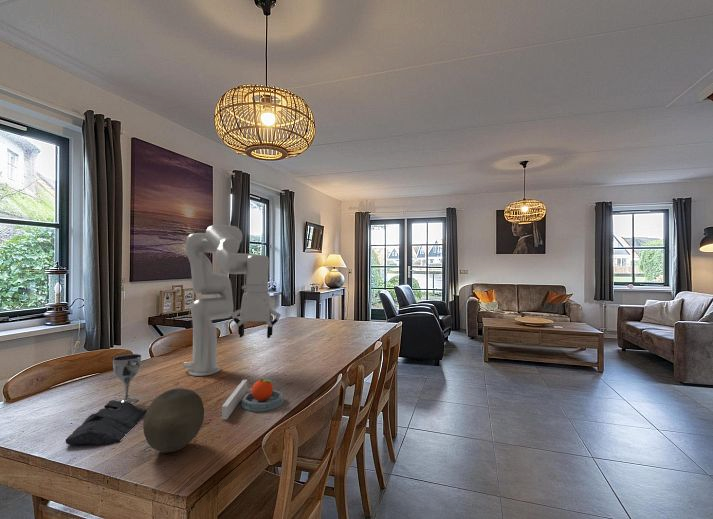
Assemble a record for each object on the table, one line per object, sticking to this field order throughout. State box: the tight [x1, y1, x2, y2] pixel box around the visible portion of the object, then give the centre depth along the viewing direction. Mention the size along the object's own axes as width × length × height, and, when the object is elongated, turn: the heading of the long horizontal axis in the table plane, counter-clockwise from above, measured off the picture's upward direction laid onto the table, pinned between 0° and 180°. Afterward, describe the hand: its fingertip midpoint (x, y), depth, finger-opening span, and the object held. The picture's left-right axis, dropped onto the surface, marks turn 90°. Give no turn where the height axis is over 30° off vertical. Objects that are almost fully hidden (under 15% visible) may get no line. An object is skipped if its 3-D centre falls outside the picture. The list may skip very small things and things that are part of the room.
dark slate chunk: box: [65, 399, 147, 446], centre depth 99 cm, size 15×22×5 cm
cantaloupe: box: [142, 388, 205, 454], centre depth 88 cm, size 14×14×15 cm
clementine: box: [251, 379, 276, 401], centre depth 118 cm, size 8×7×7 cm
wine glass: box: [112, 353, 142, 404], centre depth 118 cm, size 8×8×15 cm
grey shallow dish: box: [241, 389, 284, 413], centre depth 118 cm, size 14×14×2 cm
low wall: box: [221, 379, 248, 421], centre depth 117 cm, size 2×24×4 cm, turn 3°
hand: (255, 336), depth 125 cm, fingers open, 9 cm apart
